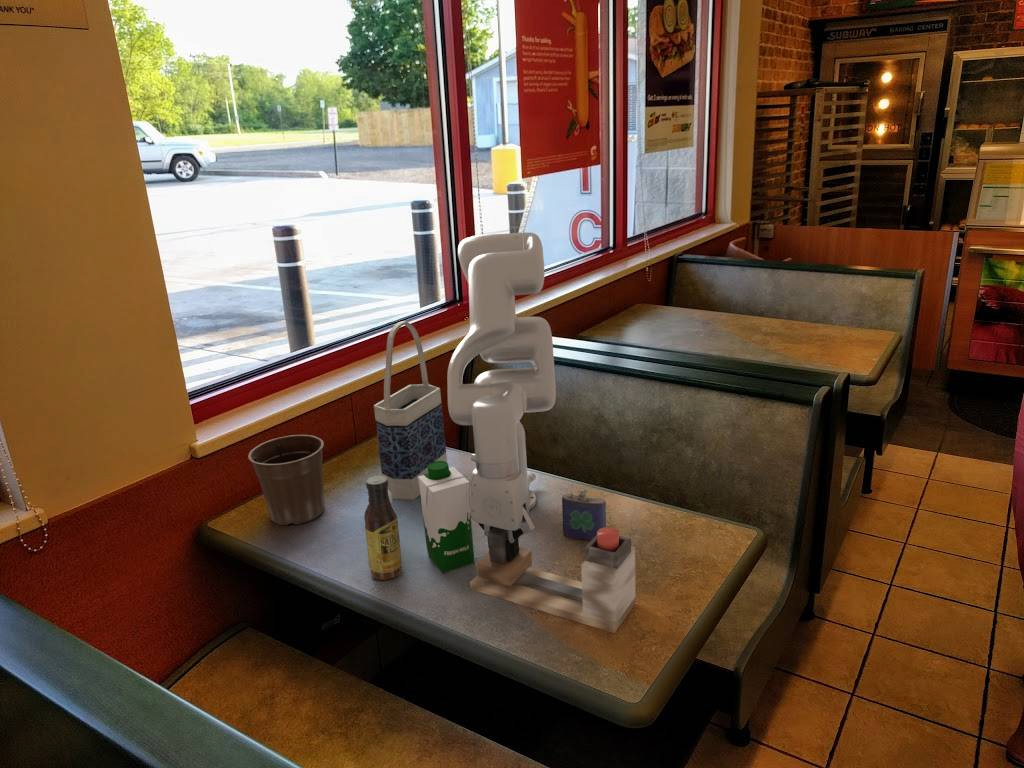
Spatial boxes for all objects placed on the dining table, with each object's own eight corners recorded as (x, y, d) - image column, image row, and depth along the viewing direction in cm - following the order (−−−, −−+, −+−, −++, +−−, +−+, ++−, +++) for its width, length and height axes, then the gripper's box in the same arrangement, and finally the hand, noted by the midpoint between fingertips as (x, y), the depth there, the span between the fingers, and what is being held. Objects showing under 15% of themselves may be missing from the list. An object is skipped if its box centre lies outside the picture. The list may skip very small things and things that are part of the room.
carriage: (477, 576, 141) (474, 533, 138) (500, 555, 147) (497, 513, 144) (510, 586, 137) (507, 542, 134) (532, 564, 144) (529, 521, 141)
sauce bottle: (388, 585, 145) (375, 491, 138) (363, 576, 148) (350, 484, 142) (410, 567, 150) (399, 476, 144) (386, 560, 153) (374, 470, 147)
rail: (470, 589, 142) (464, 522, 137) (496, 564, 149) (491, 500, 145) (614, 633, 127) (613, 560, 123) (635, 604, 135) (634, 534, 130)
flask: (608, 537, 156) (606, 490, 153) (604, 544, 154) (602, 497, 150) (565, 531, 160) (562, 485, 156) (560, 538, 157) (558, 491, 154)
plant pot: (245, 520, 173) (232, 455, 168) (300, 490, 185) (289, 429, 180) (294, 537, 164) (281, 469, 159) (348, 505, 177) (338, 441, 171)
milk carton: (462, 543, 157) (454, 455, 151) (481, 564, 150) (473, 472, 143) (422, 556, 154) (412, 466, 147) (439, 578, 146) (429, 484, 139)
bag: (422, 464, 195) (405, 312, 182) (451, 469, 191) (436, 314, 178) (380, 496, 180) (359, 332, 167) (411, 502, 176) (391, 335, 163)
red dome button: (593, 550, 128) (593, 535, 127) (602, 539, 130) (602, 525, 129) (613, 555, 126) (613, 540, 125) (622, 544, 129) (622, 529, 128)
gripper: (447, 465, 136) (456, 554, 142) (526, 482, 128) (532, 576, 134) (470, 449, 142) (478, 535, 148) (548, 464, 134) (552, 555, 140)
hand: (504, 554), depth 141 cm, fingers closed on carriage, 3 cm apart
